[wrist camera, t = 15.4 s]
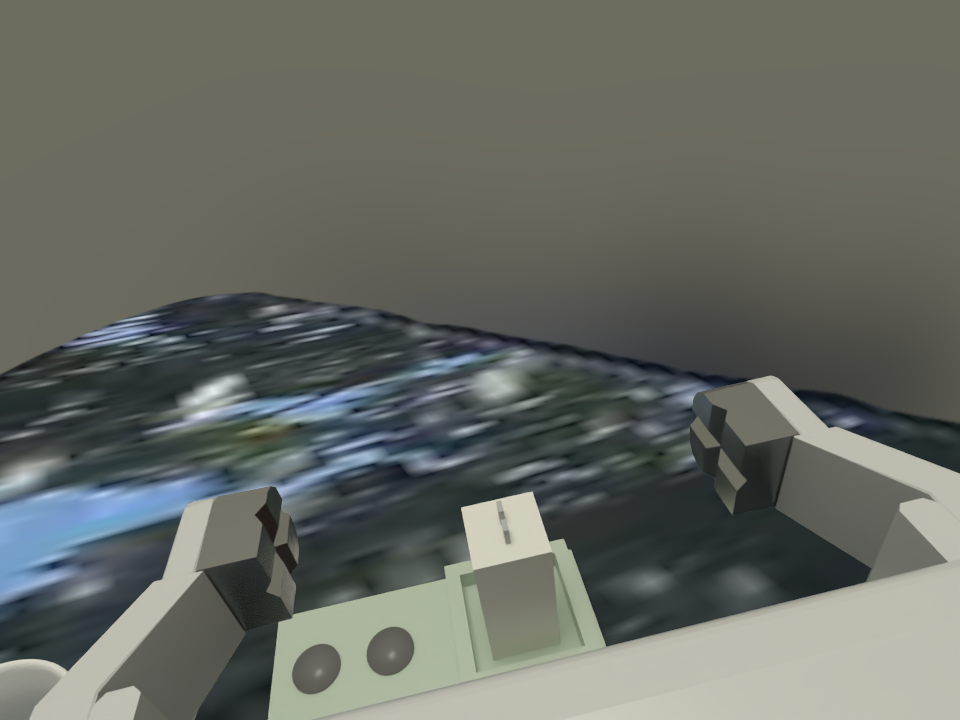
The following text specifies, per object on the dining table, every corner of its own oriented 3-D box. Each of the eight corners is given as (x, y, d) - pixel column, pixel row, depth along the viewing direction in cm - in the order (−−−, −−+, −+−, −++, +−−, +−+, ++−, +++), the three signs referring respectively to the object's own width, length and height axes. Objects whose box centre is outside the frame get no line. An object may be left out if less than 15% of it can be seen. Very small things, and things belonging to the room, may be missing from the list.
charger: (493, 660, 38) (470, 557, 32) (481, 599, 42) (458, 494, 35) (560, 644, 38) (550, 538, 32) (542, 584, 42) (530, 478, 36)
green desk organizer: (274, 767, 36) (255, 744, 34) (288, 632, 44) (272, 606, 42) (613, 682, 38) (613, 655, 36) (571, 565, 45) (570, 537, 43)
